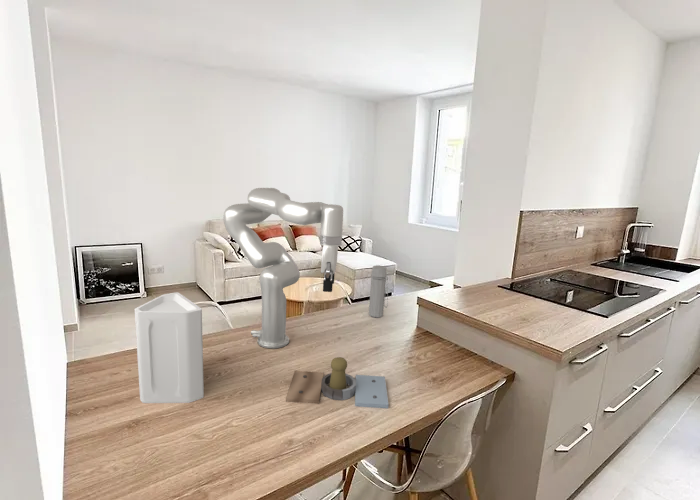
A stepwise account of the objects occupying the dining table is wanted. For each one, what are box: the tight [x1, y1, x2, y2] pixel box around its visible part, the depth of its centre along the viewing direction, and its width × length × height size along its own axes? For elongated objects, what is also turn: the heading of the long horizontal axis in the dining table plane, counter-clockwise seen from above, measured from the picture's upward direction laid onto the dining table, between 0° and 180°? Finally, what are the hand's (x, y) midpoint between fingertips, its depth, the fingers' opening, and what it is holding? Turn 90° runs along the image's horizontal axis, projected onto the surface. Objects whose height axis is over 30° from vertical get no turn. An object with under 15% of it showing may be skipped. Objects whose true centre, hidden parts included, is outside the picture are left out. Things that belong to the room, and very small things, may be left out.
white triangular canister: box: [134, 291, 205, 404], centre depth 112 cm, size 19×15×28 cm
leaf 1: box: [285, 370, 343, 405], centre depth 120 cm, size 17×16×3 cm
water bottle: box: [368, 264, 389, 318], centre depth 184 cm, size 9×8×25 cm
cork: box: [328, 356, 348, 390], centre depth 119 cm, size 6×6×11 cm
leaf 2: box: [341, 373, 389, 409], centre depth 120 cm, size 14×16×3 cm
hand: (328, 287), depth 134 cm, fingers open, 9 cm apart
